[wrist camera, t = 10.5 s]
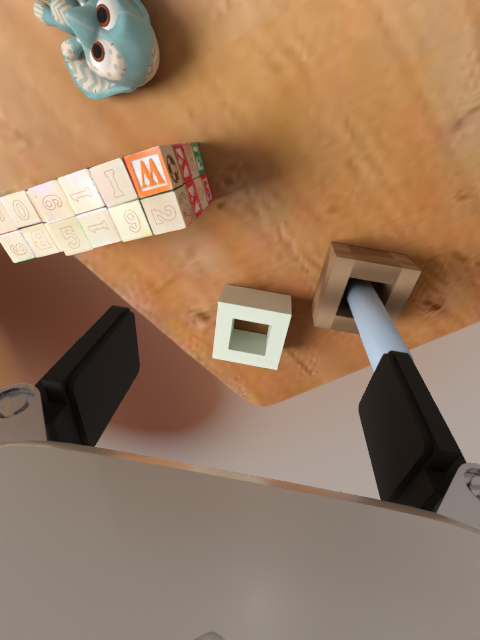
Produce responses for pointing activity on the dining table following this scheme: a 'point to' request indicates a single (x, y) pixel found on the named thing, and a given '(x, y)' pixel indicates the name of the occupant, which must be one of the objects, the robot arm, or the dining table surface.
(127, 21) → the teal cartoon creature figurine
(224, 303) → the white square hollow block
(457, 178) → the dining table surface
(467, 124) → the dining table surface
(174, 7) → the dining table surface
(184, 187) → the stack of blocks
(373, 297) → the light blue rod
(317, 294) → the brown wooden square ring
